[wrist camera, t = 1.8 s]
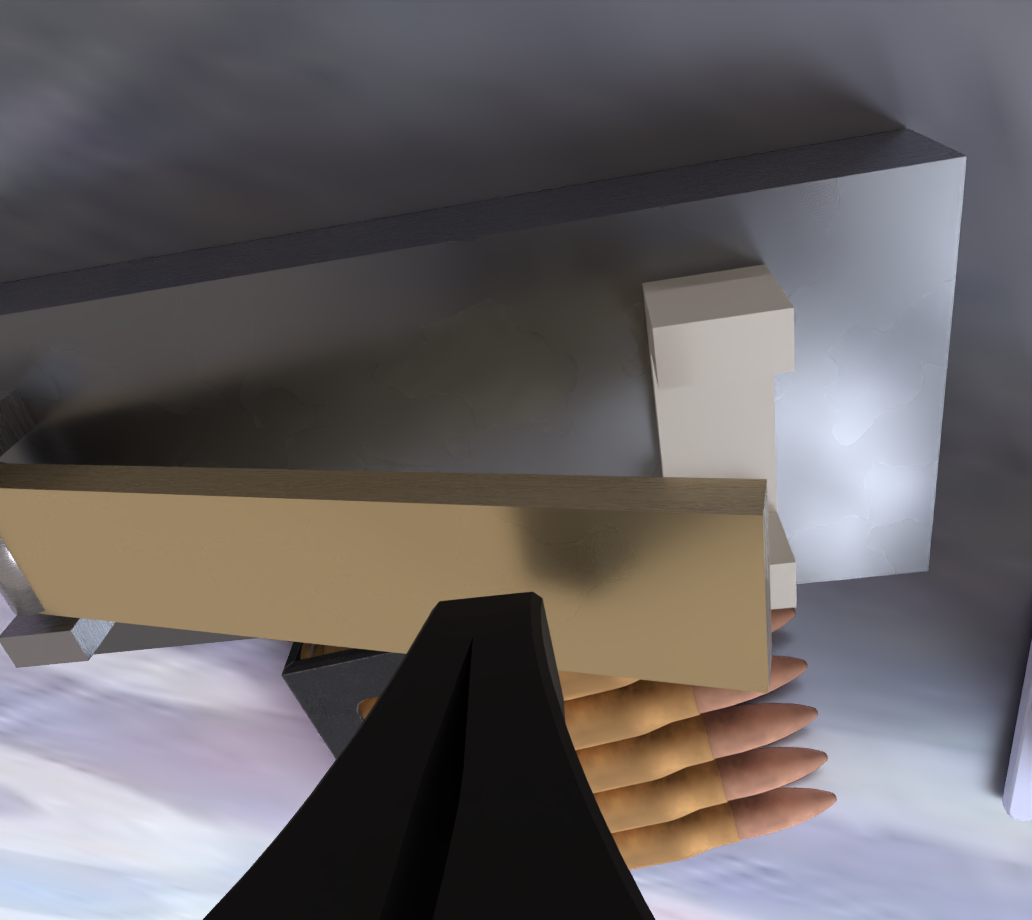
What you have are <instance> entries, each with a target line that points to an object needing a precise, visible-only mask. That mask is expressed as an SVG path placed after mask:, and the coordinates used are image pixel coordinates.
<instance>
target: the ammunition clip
mask: <svg viewBox="0 0 1032 920" xmlns="http://www.w3.org/2000/svg"><path fill="white" fill-rule="evenodd" d="M795 615H796V611H795V609H794V608H793V607H792V608H781V609H771V627H772V632H774V631H776V630H777V629H779V628H780V627H782V626H783V625H785V624H786V623H787V622H789V621H790V620H791V619H792V618H793V617H794V616H795ZM405 655H406V654H403V653H394V652H385V651H376V650H367V649H358V648H348V647H339V646H330V645H321V644H312V643H303V642H293V645H292V648H291V651H290V653H289V656H288V659H287V662H286V664H285V667H284V670H283V673H282V675H281V676H282V677H283V679H284V680H285V682H286V683H287V685H288V686H289V688H290V689H291V691H292V692H293V694H294V696H295V697H296V699H297V700H298V702H299V703H300V705H301V706H302V708H303V709H304V711H305V712H306V714H307V716H308V717H309V719H310V720H311V722H312V723H313V725H314V726H315V728H316V729H317V731H318V732H319V734H320V736H321V737H322V739H323V740H324V742H325V743H326V745H327V746H328V748H329V749H330V751H331V752H332V754H333V756H334V757H335V759H337V758H338V756H339V755H340V754H341V752H342V751H343V750H344V748H345V747H346V746H347V744H348V743H349V741H350V740H351V738H352V737H353V736H354V734H355V733H356V731H357V730H358V728H359V727H360V725H361V724H362V722H363V721H364V719H365V718H366V716H367V715H368V713H369V712H370V710H371V709H372V707H373V705H374V704H375V702H376V701H377V699H378V698H379V696H380V695H381V693H382V692H383V690H384V689H385V687H386V686H387V684H388V683H389V681H390V679H391V678H392V676H393V675H394V673H395V671H396V670H397V668H398V666H399V665H400V663H401V662H402V660H403V658H404V657H405ZM806 669H807V663H806V661H804V660H802V659H798V658H793V657H786V656H772V661H771V672H770V684H769V692H770V691H773V690H775V689H777V688H779V687H781V686H782V685H784V684H786V683H788V682H790V681H791V680H793V679H795V678H796V677H797V676H799V675H800V674H801V673H803V672H804V671H805V670H806ZM558 674H559V679H560V683H561V688H562V693H563V698H564V710H565V723H566V726H567V729H568V732H569V734H570V737H571V740H572V743H573V745H574V748H575V751H576V753H577V756H578V758H579V761H580V763H581V766H582V768H583V771H584V773H585V776H586V778H587V781H588V783H589V785H590V788H591V790H592V792H593V795H594V797H595V799H596V802H597V804H598V806H599V808H600V811H601V813H602V815H603V817H604V819H605V822H606V824H607V826H608V828H609V830H610V832H611V834H612V836H613V838H614V840H615V842H616V845H617V847H618V849H619V851H620V853H621V855H622V857H623V859H624V861H625V863H626V865H627V867H628V869H629V870H632V869H637V868H642V867H647V866H653V865H658V864H663V863H668V862H673V861H678V860H683V859H687V858H690V857H693V856H695V855H698V854H700V853H702V852H705V851H707V850H709V849H711V848H714V847H718V846H722V845H726V844H730V843H735V842H739V841H740V840H742V839H747V838H752V837H756V836H761V835H766V834H770V833H773V832H776V831H779V830H783V829H786V828H789V827H792V826H794V825H797V824H799V823H802V822H804V821H806V820H808V819H810V818H812V817H814V816H816V815H818V814H820V813H822V812H823V811H825V810H826V809H828V808H829V807H830V806H832V805H833V804H834V803H835V802H836V800H837V798H836V795H835V794H834V793H831V792H828V791H823V790H818V789H811V788H778V787H781V786H784V785H786V784H789V783H791V782H793V781H796V780H798V779H800V778H802V777H804V776H806V775H808V774H810V773H811V772H813V771H814V770H816V769H817V768H819V767H820V766H821V765H823V764H824V763H825V762H826V761H827V759H828V757H827V754H826V753H825V752H822V751H819V750H814V749H808V748H799V747H767V748H758V747H761V746H764V745H767V744H769V743H772V742H774V741H777V740H779V739H781V738H784V737H786V736H788V735H790V734H792V733H794V732H796V731H798V730H800V729H801V728H803V727H804V726H806V725H808V724H809V723H810V722H811V721H813V720H814V719H815V718H816V717H817V716H818V711H817V710H816V709H815V708H813V707H810V706H805V705H799V704H789V703H760V704H749V705H739V706H733V705H736V704H739V703H742V702H745V701H748V700H751V699H754V698H756V697H759V696H761V695H764V694H766V693H760V692H751V691H742V690H733V689H723V688H714V687H705V686H696V685H687V684H678V683H669V682H659V681H650V680H641V679H632V678H623V677H614V676H604V675H595V674H586V673H577V672H568V671H559V670H558ZM729 706H731V707H729ZM725 707H726V708H725ZM755 748H757V749H755Z"/></svg>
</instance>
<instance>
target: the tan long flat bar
mask: <svg viewBox="0 0 1032 920" xmlns="http://www.w3.org/2000/svg"><path fill="white" fill-rule="evenodd" d="M532 591H533V592H534V593H536V594H537V595H539V596H540V597H542V598H543V602H544V607H545V612H546V617H547V621H548V626H549V631H550V636H551V641H552V645H553V650H554V655H555V660H556V664H557V669H558V670H559V671H568V672H577V673H586V674H595V675H604V676H614V677H623V678H632V679H641V680H650V681H659V682H669V683H678V684H687V685H696V686H705V687H714V688H723V689H733V690H742V691H751V692H760V693H769V684H770V672H771V661H772V627H771V593H770V559H769V525H768V490H767V479H735V478H687V477H639V476H591V475H543V474H494V473H446V472H398V471H350V470H302V469H254V468H205V467H157V466H109V465H61V464H13V463H5V462H0V592H1V594H2V596H3V597H4V599H5V600H6V602H7V603H8V605H9V607H10V608H11V610H12V611H13V613H14V614H16V615H19V616H29V615H34V614H47V615H56V616H65V617H74V618H83V619H92V620H101V621H111V622H120V623H129V624H138V625H147V626H156V627H165V628H175V629H184V630H193V631H202V632H211V633H220V634H229V635H239V636H248V637H257V638H266V639H275V640H284V641H293V642H303V643H312V644H321V645H330V646H339V647H348V648H358V649H367V650H376V651H385V652H394V653H403V654H406V653H407V652H408V650H409V648H410V647H411V645H412V643H413V642H414V640H415V638H416V637H417V635H418V633H419V632H420V630H421V628H422V626H423V625H424V623H425V621H426V620H427V618H428V616H429V615H430V613H431V611H432V609H433V608H434V607H435V606H436V605H437V603H438V602H439V601H445V600H455V599H465V598H474V597H484V596H493V595H503V594H512V593H522V592H532Z"/></svg>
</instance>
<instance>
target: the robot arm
mask: <svg viewBox="0 0 1032 920" xmlns="http://www.w3.org/2000/svg"><path fill="white" fill-rule="evenodd" d="M1002 802H1003V806H1004V808H1005V810H1006V812H1007V814H1008V815H1009V816H1010V817H1011V818H1013V819H1016V820H1022V821H1028V820H1032V641H1031V646H1030V651H1029V657H1028V662H1027V668H1026V673H1025V679H1024V684H1023V690H1022V695H1021V701H1020V706H1019V712H1018V717H1017V723H1016V728H1015V733H1014V739H1013V744H1012V750H1011V755H1010V761H1009V766H1008V772H1007V777H1006V783H1005V788H1004V794H1003V799H1002ZM203 920H655V918H654V916H653V914H652V913H651V911H650V909H649V907H648V906H647V904H646V902H645V900H644V898H643V896H642V894H641V892H640V890H639V888H638V886H637V884H636V882H635V881H634V879H633V877H632V875H631V873H630V871H629V869H628V867H627V865H626V863H625V861H624V859H623V857H622V855H621V853H620V851H619V849H618V847H617V845H616V842H615V840H614V838H613V836H612V834H611V832H610V830H609V828H608V826H607V824H606V822H605V819H604V817H603V815H602V813H601V811H600V808H599V806H598V804H597V802H596V799H595V797H594V795H593V792H592V790H591V788H590V785H589V783H588V781H587V778H586V776H585V773H584V771H583V768H582V766H581V763H580V761H579V758H578V756H577V753H576V751H575V748H574V745H573V743H572V740H571V737H570V734H569V732H568V729H567V726H566V723H565V710H564V698H563V693H562V688H561V683H560V679H559V674H558V669H557V664H556V660H555V655H554V650H553V645H552V641H551V636H550V631H549V626H548V621H547V617H546V612H545V607H544V602H543V598H542V597H540V596H539V595H537V594H536V593H534V592H533V591H532V592H522V593H512V594H503V595H493V596H484V597H474V598H465V599H455V600H445V601H439V602H438V603H437V605H436V606H435V607H434V608H433V609H432V611H431V613H430V615H429V616H428V618H427V620H426V621H425V623H424V625H423V626H422V628H421V630H420V632H419V633H418V635H417V637H416V638H415V640H414V642H413V643H412V645H411V647H410V648H409V650H408V652H407V653H406V655H405V657H404V658H403V660H402V662H401V663H400V665H399V666H398V668H397V670H396V671H395V673H394V675H393V676H392V678H391V679H390V681H389V683H388V684H387V686H386V687H385V689H384V690H383V692H382V693H381V695H380V696H379V698H378V699H377V701H376V702H375V704H374V705H373V707H372V709H371V710H370V712H369V713H368V715H367V716H366V718H365V719H364V721H363V722H362V724H361V725H360V727H359V728H358V730H357V731H356V733H355V734H354V736H353V737H352V738H351V740H350V741H349V743H348V744H347V746H346V747H345V748H344V750H343V751H342V752H341V754H340V755H339V756H338V758H337V759H336V761H335V762H334V763H333V765H332V766H331V767H330V769H329V770H328V771H327V773H326V774H325V776H324V777H323V778H322V780H321V781H320V782H319V784H318V785H317V786H316V788H315V789H314V791H313V792H312V793H311V795H310V796H309V797H308V799H307V800H306V801H305V802H304V804H303V805H302V806H301V807H300V809H299V810H298V811H297V812H296V814H295V815H294V816H293V818H292V819H291V820H290V821H289V823H288V824H287V825H286V826H285V827H284V829H283V830H282V831H281V832H280V834H279V835H278V836H277V837H276V838H275V840H274V841H273V842H272V843H271V844H270V845H269V847H268V848H267V849H266V850H265V851H264V852H263V854H262V855H261V856H260V857H259V858H258V859H257V861H256V862H255V863H254V864H253V865H252V866H251V868H250V869H249V870H248V871H247V872H246V873H245V874H244V876H243V877H242V878H241V879H240V880H239V881H238V882H237V883H236V884H235V885H234V886H233V887H232V889H231V890H230V891H229V892H228V893H227V894H226V895H225V896H224V897H223V898H222V899H221V900H220V902H219V903H218V904H217V905H216V906H215V907H214V908H213V909H212V910H211V911H210V912H209V913H208V914H207V916H206V917H205V918H204V919H203Z"/></svg>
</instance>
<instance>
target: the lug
mask: <svg viewBox="0 0 1032 920" xmlns="http://www.w3.org/2000/svg"><path fill="white" fill-rule="evenodd" d="M642 286H643V296H644V305H645V315H646V324H647V334H648V344H649V353H650V363H651V372H652V382H653V391H654V401H655V410H656V420H657V430H658V439H659V449H660V458H661V468H662V477H687V478H735V479H767V490H768V525H769V559H770V593H771V609H781V608H792V607H797V596H796V560H795V558H794V555H793V553H792V550H791V547H790V545H789V542H788V540H787V537H786V534H785V532H784V529H783V526H782V524H781V521H780V519H779V516H778V513H777V486H776V441H775V397H774V374H777V373H785V372H792V371H795V369H794V307H793V305H792V304H791V302H790V301H789V299H788V298H787V296H786V295H785V293H784V292H783V290H782V289H781V287H780V286H779V284H778V283H777V281H776V280H775V278H774V277H773V275H772V274H771V272H770V271H769V269H768V268H767V266H766V265H765V264H764V265H757V266H751V267H744V268H738V269H731V270H724V271H718V272H711V273H705V274H698V275H692V276H685V277H679V278H672V279H665V280H659V281H652V282H646V283H642Z"/></svg>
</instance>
